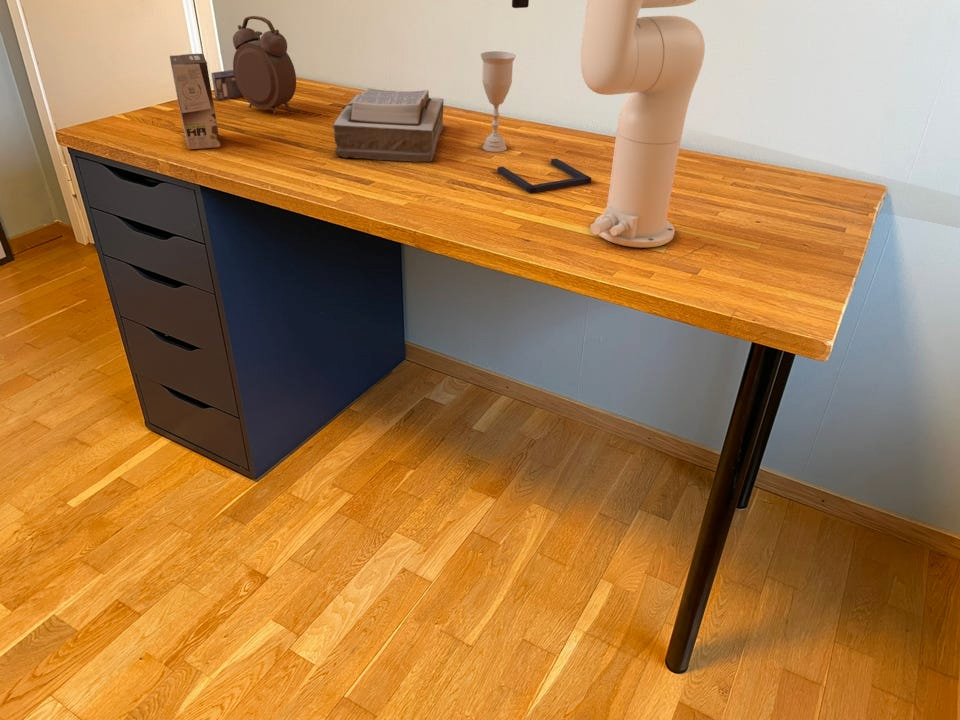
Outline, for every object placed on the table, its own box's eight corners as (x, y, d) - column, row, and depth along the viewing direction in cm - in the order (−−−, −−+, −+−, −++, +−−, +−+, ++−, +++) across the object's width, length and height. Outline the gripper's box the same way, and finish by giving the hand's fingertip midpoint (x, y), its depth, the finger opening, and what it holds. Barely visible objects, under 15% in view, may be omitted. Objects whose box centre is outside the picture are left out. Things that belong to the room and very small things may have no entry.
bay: (591, 183, 136) (591, 177, 135) (529, 193, 130) (530, 188, 130) (555, 163, 144) (556, 158, 144) (497, 172, 139) (497, 167, 138)
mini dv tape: (218, 100, 176) (213, 74, 172) (215, 98, 177) (211, 72, 173) (250, 95, 180) (246, 69, 177) (247, 94, 181) (243, 68, 178)
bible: (313, 155, 144) (308, 104, 139) (363, 119, 166) (360, 73, 160) (426, 168, 140) (426, 115, 134) (463, 129, 162) (463, 82, 156)
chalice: (507, 154, 148) (512, 60, 138) (474, 151, 149) (477, 57, 139) (513, 143, 154) (518, 52, 144) (481, 141, 155) (484, 50, 145)
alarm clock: (304, 112, 169) (294, 18, 158) (281, 119, 164) (270, 22, 153) (259, 102, 175) (246, 10, 164) (236, 108, 170) (221, 14, 159)
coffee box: (221, 147, 147) (207, 62, 138) (187, 150, 145) (170, 64, 136) (217, 134, 154) (203, 52, 145) (185, 136, 152) (168, 54, 143)
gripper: (470, -109, 132) (468, -3, 141) (518, -103, 119) (512, 12, 129) (507, -108, 135) (502, -5, 144) (557, -103, 122) (548, 10, 132)
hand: (507, 3), depth 137 cm, fingers open, 9 cm apart
